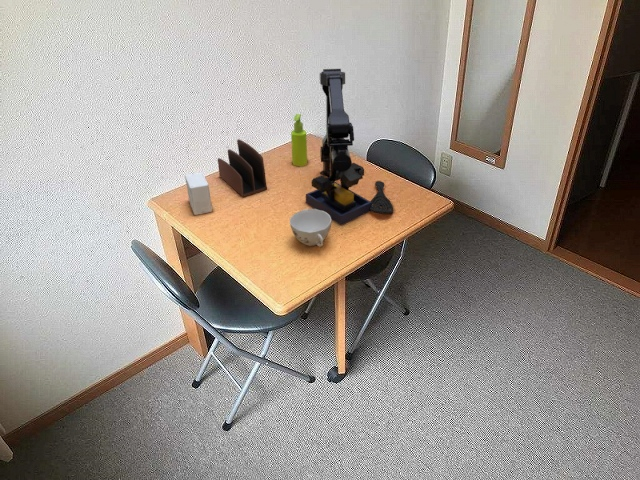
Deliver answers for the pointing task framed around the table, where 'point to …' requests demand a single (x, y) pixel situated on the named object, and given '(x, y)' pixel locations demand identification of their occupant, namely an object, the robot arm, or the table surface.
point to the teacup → (311, 226)
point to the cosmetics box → (198, 193)
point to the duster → (341, 198)
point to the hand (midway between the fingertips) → (338, 199)
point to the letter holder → (244, 170)
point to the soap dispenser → (299, 143)
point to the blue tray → (336, 213)
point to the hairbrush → (381, 201)
